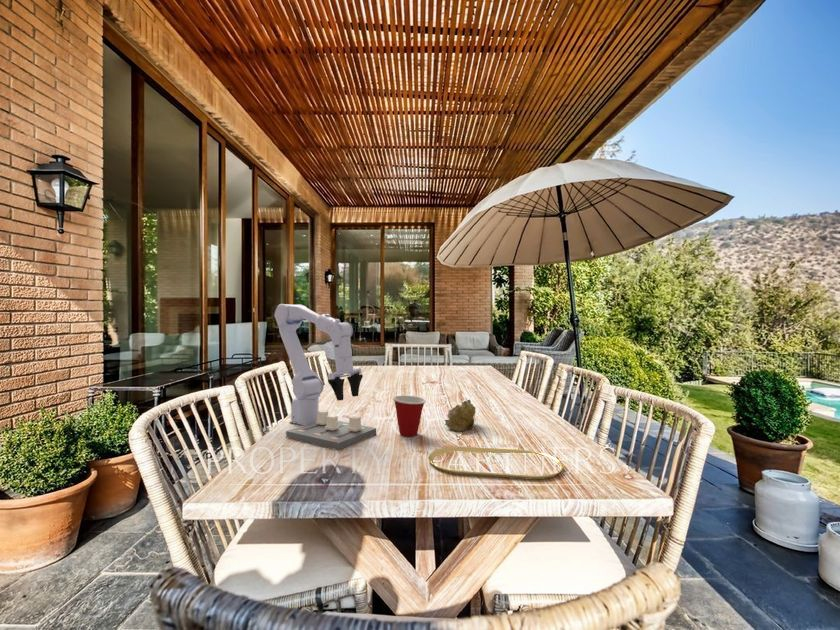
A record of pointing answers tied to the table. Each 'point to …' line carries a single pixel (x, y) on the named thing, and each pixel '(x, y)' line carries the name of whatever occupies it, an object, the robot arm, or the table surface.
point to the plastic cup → (408, 414)
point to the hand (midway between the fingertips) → (347, 398)
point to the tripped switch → (331, 422)
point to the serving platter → (483, 450)
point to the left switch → (321, 417)
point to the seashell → (461, 417)
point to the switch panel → (330, 435)
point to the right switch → (354, 423)
